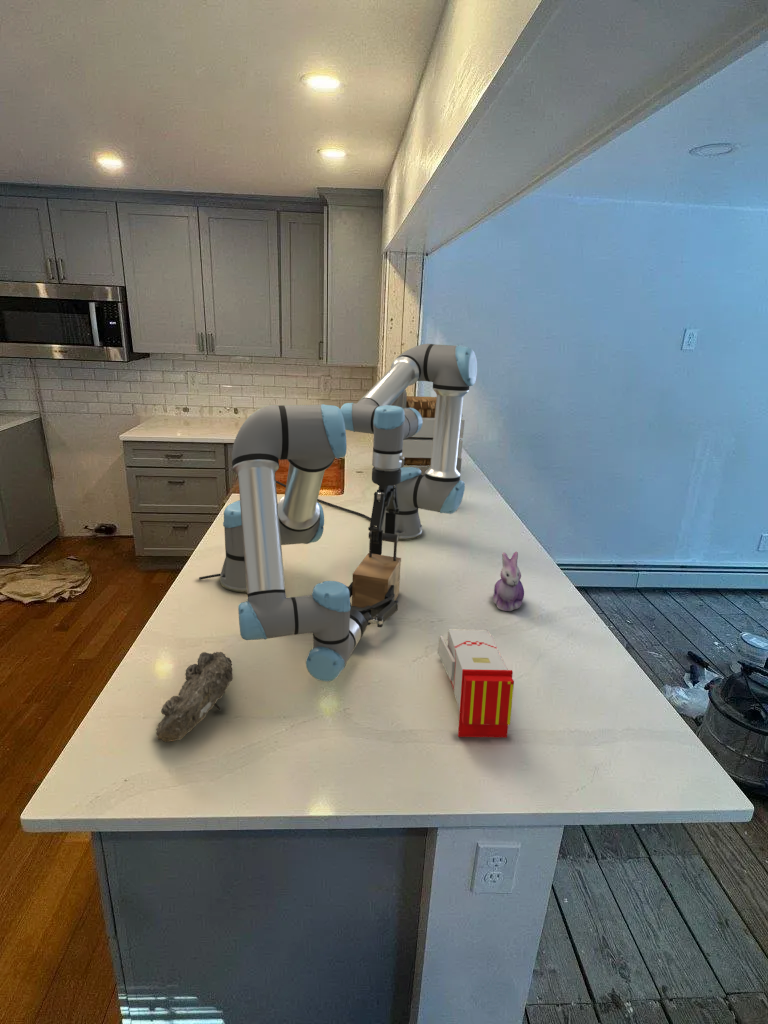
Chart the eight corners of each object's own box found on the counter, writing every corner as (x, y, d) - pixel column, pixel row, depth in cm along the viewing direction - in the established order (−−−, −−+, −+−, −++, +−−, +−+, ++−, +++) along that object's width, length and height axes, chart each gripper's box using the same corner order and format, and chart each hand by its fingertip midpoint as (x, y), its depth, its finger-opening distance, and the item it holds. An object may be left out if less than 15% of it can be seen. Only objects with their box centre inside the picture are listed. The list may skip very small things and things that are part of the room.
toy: (488, 613, 130) (523, 677, 101) (484, 667, 133) (517, 744, 104) (435, 612, 130) (455, 676, 101) (432, 666, 133) (451, 743, 103)
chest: (366, 588, 160) (367, 557, 157) (398, 593, 158) (400, 562, 155) (351, 611, 148) (352, 577, 145) (386, 617, 146) (388, 583, 142)
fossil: (183, 653, 120) (233, 621, 115) (215, 683, 122) (265, 653, 117) (132, 735, 100) (190, 701, 95) (171, 768, 103) (229, 737, 98)
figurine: (506, 615, 149) (513, 563, 144) (482, 598, 157) (488, 548, 152) (534, 608, 153) (541, 558, 148) (509, 592, 161) (516, 543, 156)
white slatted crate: (382, 463, 289) (386, 382, 275) (445, 464, 293) (451, 384, 279) (390, 482, 257) (394, 392, 243) (460, 483, 261) (468, 394, 247)
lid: (368, 556, 157) (369, 527, 154) (401, 561, 155) (402, 532, 152) (352, 577, 144) (353, 546, 142) (388, 583, 142) (389, 552, 139)
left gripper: (300, 635, 132) (333, 592, 152) (392, 653, 126) (414, 606, 147) (300, 607, 129) (334, 567, 150) (394, 624, 124) (416, 580, 144)
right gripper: (388, 482, 133) (384, 564, 140) (411, 458, 155) (407, 530, 163) (358, 478, 135) (355, 560, 142) (385, 455, 157) (382, 526, 164)
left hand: (373, 586), depth 148 cm, fingers closed on chest, 9 cm apart
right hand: (383, 544), depth 152 cm, fingers open, 13 cm apart
